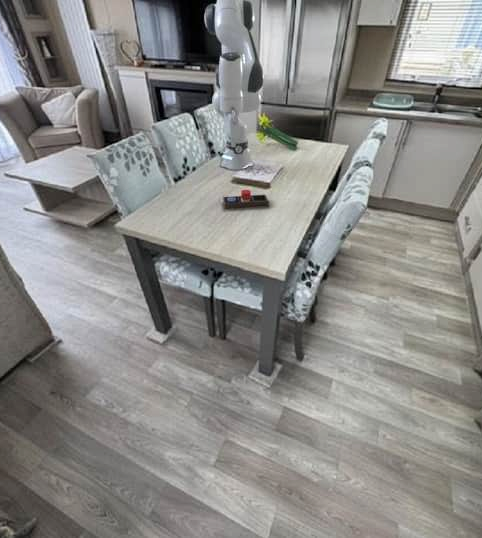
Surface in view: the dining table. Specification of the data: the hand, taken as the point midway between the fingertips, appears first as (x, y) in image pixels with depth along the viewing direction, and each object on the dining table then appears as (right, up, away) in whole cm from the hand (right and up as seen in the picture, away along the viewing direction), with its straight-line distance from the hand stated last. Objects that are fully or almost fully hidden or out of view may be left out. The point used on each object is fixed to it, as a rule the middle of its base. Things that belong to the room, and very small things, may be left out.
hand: (231, 142), depth 123 cm
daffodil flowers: (+26, +34, +83) cm, 94 cm away
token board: (+6, -23, +12) cm, 27 cm away
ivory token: (+6, -23, +12) cm, 26 cm away
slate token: (-1, -23, +11) cm, 26 cm away
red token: (+6, -20, +10) cm, 23 cm away
